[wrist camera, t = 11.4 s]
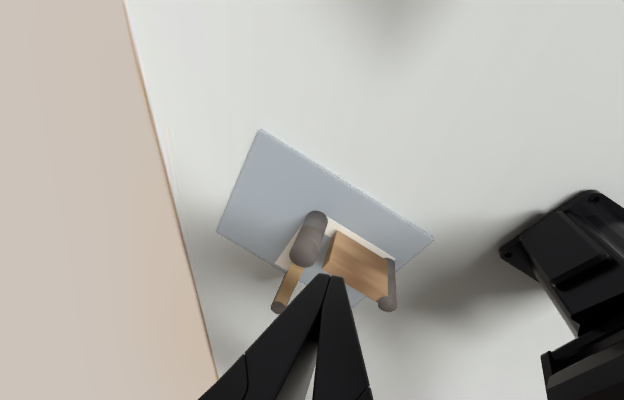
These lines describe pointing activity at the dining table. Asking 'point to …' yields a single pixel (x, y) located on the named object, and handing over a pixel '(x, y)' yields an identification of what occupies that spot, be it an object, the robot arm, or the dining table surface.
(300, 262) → the fixed fence
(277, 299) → the fence panel
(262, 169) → the card
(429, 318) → the dining table surface
